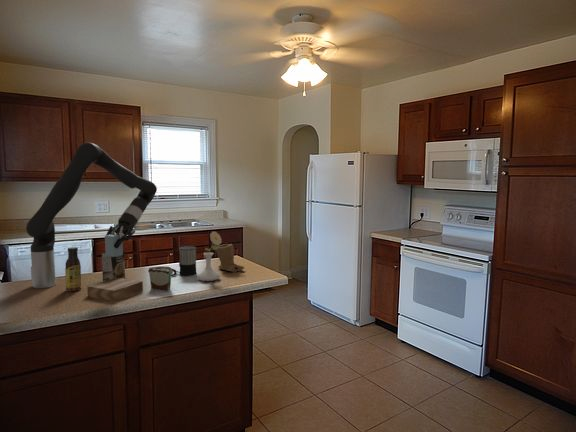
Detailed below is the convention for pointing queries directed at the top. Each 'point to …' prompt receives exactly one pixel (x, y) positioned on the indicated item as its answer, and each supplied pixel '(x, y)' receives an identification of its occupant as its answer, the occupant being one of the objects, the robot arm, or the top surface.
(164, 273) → the food container
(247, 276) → the top surface
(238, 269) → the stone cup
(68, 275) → the sauce bottle
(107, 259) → the coffee box
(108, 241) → the slate block
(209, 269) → the flower in vase
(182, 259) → the milk frother
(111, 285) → the walnut block
